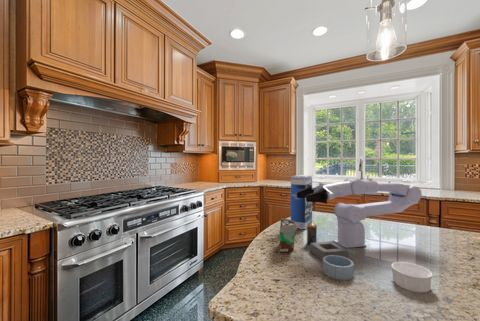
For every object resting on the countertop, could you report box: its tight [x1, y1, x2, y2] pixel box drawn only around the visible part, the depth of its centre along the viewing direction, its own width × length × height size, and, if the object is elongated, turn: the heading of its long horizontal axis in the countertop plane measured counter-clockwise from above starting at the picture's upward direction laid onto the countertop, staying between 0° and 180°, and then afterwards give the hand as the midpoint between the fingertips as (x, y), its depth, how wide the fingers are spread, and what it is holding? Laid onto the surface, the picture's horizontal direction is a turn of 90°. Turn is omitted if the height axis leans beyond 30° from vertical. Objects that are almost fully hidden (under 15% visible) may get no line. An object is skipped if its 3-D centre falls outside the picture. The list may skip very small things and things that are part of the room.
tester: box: [309, 240, 349, 261], centre depth 80 cm, size 9×9×3 cm
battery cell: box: [306, 222, 318, 246], centre depth 91 cm, size 4×4×8 cm
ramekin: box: [390, 261, 433, 294], centre depth 61 cm, size 9×9×4 cm
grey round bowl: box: [322, 255, 355, 281], centre depth 68 cm, size 8×8×4 cm
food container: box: [279, 218, 298, 255], centre depth 86 cm, size 12×6×10 cm, turn 168°
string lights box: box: [290, 174, 313, 230], centre depth 117 cm, size 13×8×26 cm, turn 147°
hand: (301, 196), depth 88 cm, fingers open, 7 cm apart
